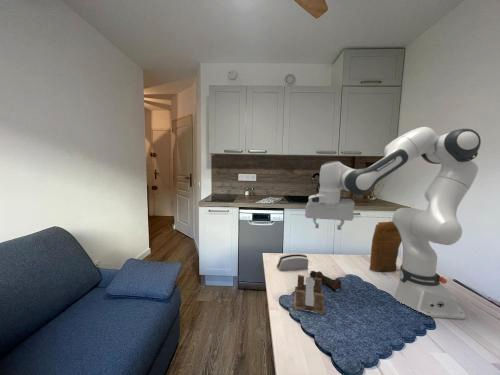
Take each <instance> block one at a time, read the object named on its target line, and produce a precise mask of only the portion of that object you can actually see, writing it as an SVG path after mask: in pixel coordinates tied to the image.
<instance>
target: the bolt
mask: <svg viewBox="0 0 500 375" xmlns="http://www.w3.org/2000/svg"><path fill="white" fill-rule="evenodd" d="M309 277H310V278H313V279H315V278H321V280H322V281H321V283H324V284H325V285H328V286H329V287H331V288H332V290H333V289H334V290H335V291H336V290H337V289H339V288H340V289H341V288H342V281H341V279H339V278H335V279H332V278H330V277H328V276H326V275H324V274H323V272H322V271H315V270H311V271H310V272H309ZM335 291H334V292H335ZM336 292H337V291H336Z"/></svg>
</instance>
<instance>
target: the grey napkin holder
mask: <svg viewBox="0 0 500 375" xmlns="http://www.w3.org/2000/svg"><path fill="white" fill-rule="evenodd" d="M276 267H277V268H278V269H277V270H278V271H291V270H290V269H293V270H305V269H307V270H308V268H309V257H308V255H306V254H304V253H297V252H296V253H295V252H294V253H293V252H292V253H287V254H282V255H280V257H279V259H278V263H276Z"/></svg>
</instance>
